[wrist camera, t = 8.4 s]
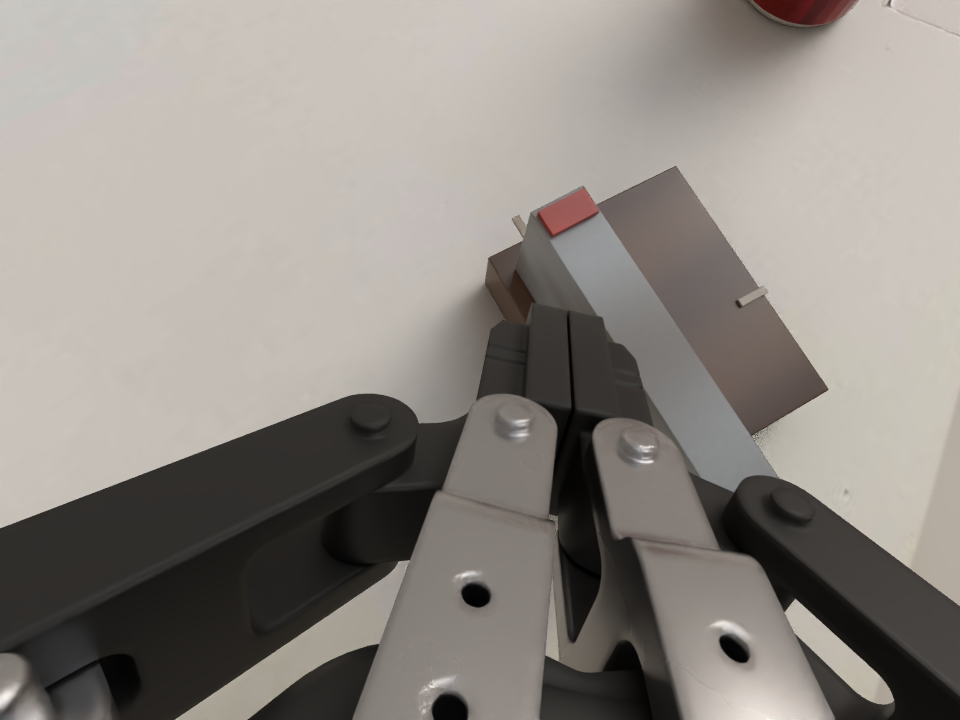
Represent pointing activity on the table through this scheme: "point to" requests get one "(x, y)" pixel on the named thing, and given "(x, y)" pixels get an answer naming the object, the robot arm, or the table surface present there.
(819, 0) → the soda can
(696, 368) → the red-tipped metal brick
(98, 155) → the table surface
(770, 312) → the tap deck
